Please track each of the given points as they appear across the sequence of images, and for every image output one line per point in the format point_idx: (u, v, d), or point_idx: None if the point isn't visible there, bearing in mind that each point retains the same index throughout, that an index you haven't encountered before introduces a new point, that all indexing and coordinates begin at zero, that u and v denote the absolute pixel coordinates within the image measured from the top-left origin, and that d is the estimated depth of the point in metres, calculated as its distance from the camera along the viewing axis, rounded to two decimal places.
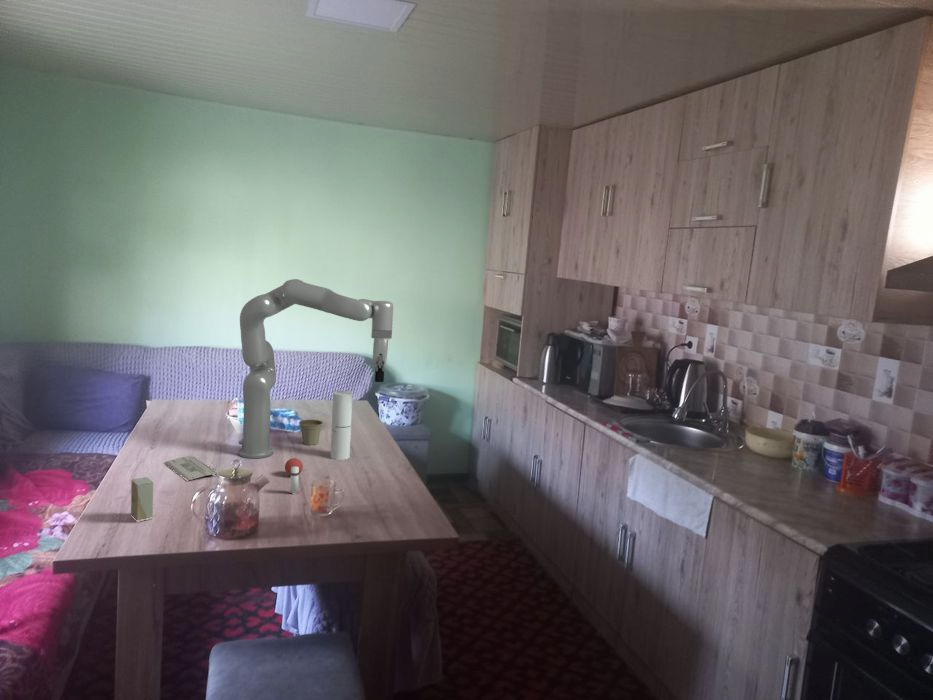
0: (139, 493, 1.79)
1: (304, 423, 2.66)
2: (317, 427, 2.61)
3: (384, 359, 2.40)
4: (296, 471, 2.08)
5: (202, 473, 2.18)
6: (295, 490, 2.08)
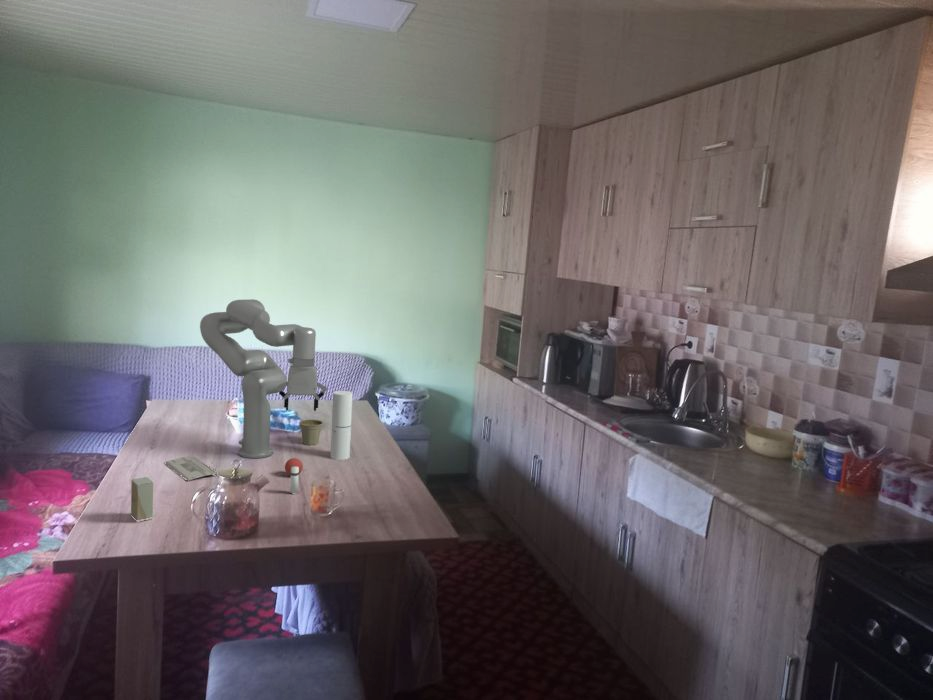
0: (139, 493, 1.79)
1: (304, 423, 2.66)
2: (317, 427, 2.61)
3: None
4: (296, 471, 2.08)
5: (202, 473, 2.18)
6: (295, 490, 2.08)
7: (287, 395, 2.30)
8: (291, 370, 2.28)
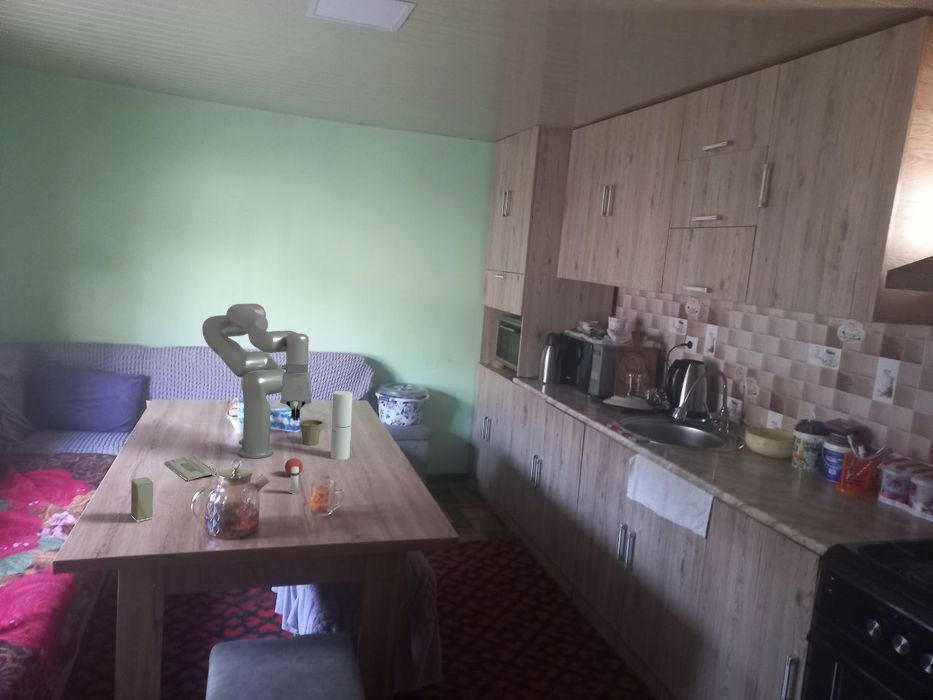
0: (139, 493, 1.79)
1: (304, 423, 2.66)
2: (317, 427, 2.61)
3: None
4: (296, 471, 2.08)
5: (202, 473, 2.18)
6: (295, 490, 2.08)
7: (291, 404, 2.30)
8: (285, 376, 2.27)
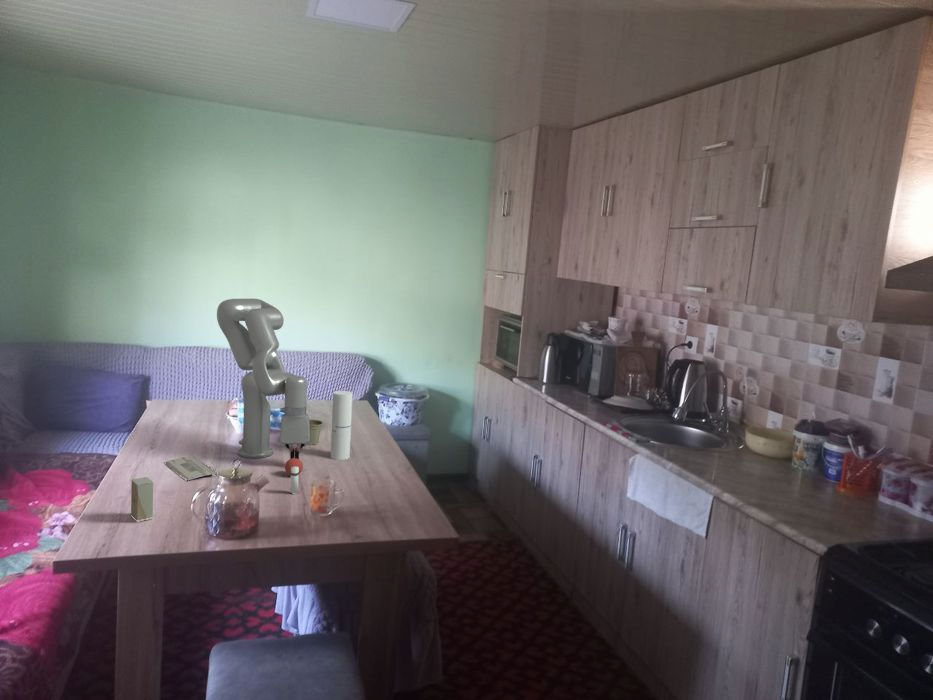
0: (139, 493, 1.79)
1: None
2: (317, 427, 2.61)
3: None
4: (296, 471, 2.08)
5: (201, 473, 2.18)
6: (295, 490, 2.08)
7: (290, 447, 2.32)
8: (283, 419, 2.29)
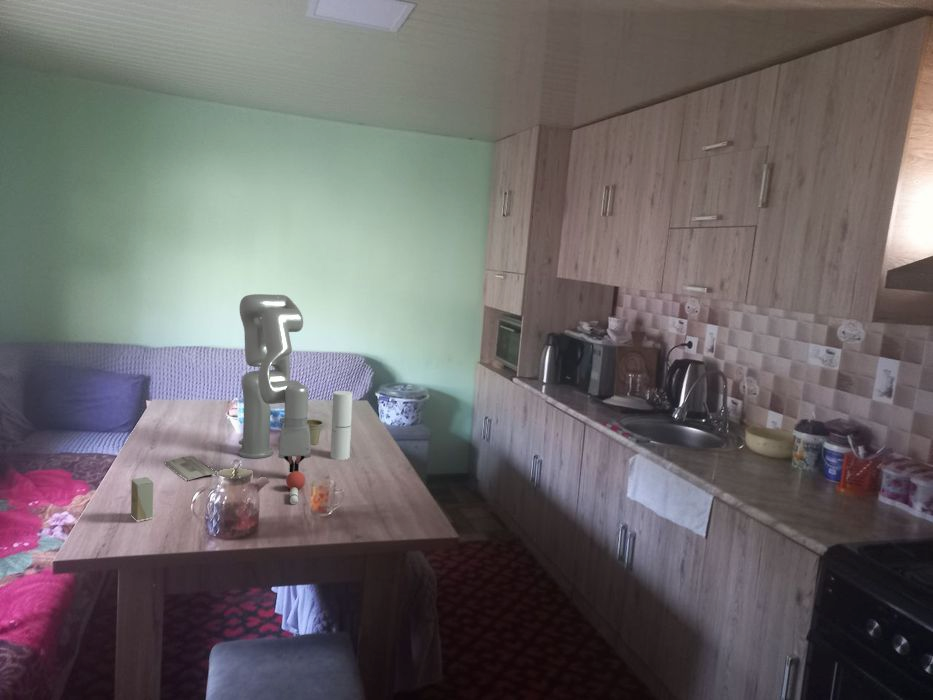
0: (139, 493, 1.79)
1: None
2: (317, 427, 2.61)
3: None
4: None
5: (201, 473, 2.18)
6: None
7: (290, 459, 2.20)
8: (283, 430, 2.17)
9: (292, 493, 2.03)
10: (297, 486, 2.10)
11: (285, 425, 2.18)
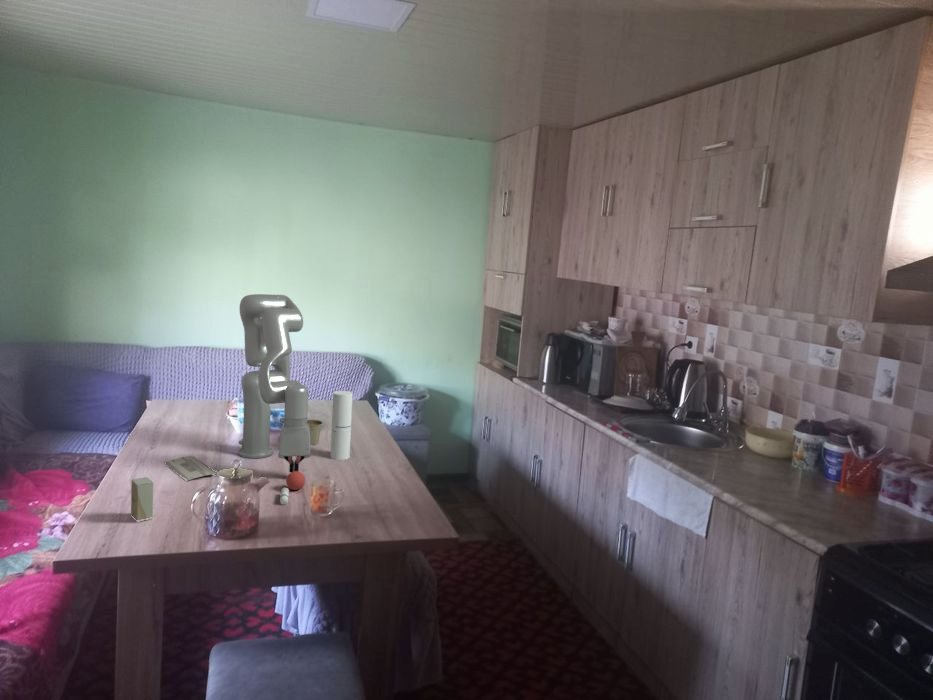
0: (139, 493, 1.79)
1: None
2: (317, 427, 2.61)
3: None
4: (285, 496, 2.00)
5: (201, 473, 2.18)
6: (286, 489, 2.06)
7: (290, 459, 2.20)
8: (283, 430, 2.17)
9: None
10: (297, 486, 2.10)
11: (285, 425, 2.18)
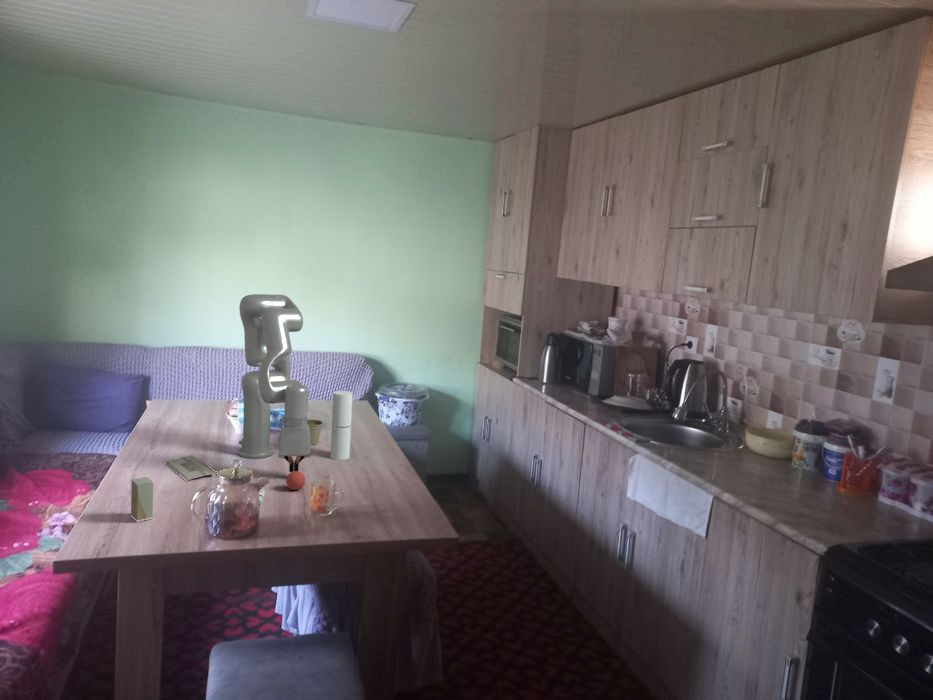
0: (139, 493, 1.79)
1: None
2: (317, 427, 2.61)
3: None
4: (261, 497, 1.99)
5: (201, 473, 2.18)
6: (264, 490, 2.05)
7: (290, 459, 2.20)
8: (283, 430, 2.17)
9: None
10: (297, 486, 2.10)
11: (285, 425, 2.18)
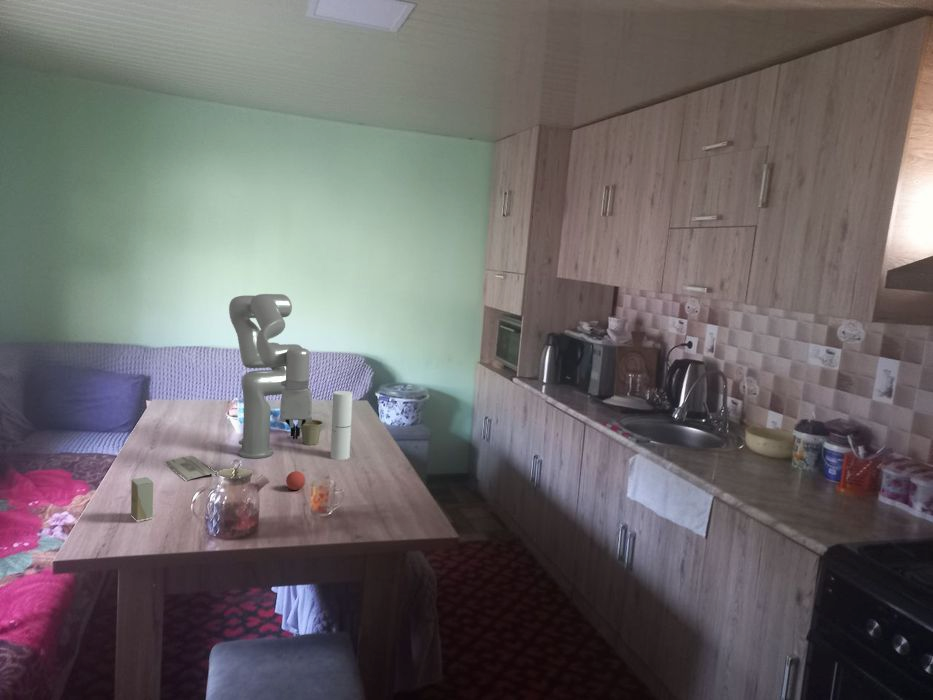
0: (139, 493, 1.79)
1: (304, 423, 2.66)
2: (317, 427, 2.61)
3: None
4: None
5: (201, 473, 2.18)
6: None
7: (291, 423, 2.19)
8: (284, 393, 2.16)
9: None
10: (297, 486, 2.10)
11: (286, 388, 2.16)
